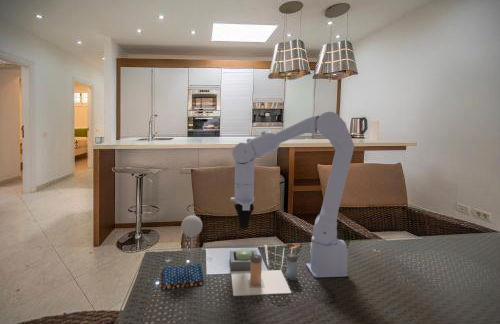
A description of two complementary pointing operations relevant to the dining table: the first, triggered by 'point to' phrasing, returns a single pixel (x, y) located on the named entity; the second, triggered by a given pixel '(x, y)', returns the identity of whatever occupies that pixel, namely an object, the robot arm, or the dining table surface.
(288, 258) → the marker slate
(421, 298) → the dining table surface
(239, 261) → the button housing
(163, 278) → the woven mat
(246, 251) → the button
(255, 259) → the marker terracotta
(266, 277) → the paper
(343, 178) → the robot arm
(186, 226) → the lollipop
